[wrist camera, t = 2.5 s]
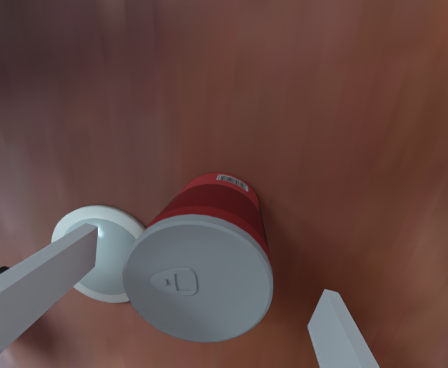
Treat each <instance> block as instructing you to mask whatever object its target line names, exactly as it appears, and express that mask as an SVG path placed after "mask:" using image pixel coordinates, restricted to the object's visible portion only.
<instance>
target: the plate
mask: <svg viewBox="0 0 448 368" xmlns="http://www.w3.org/2000/svg"><path fill="white" fill-rule="evenodd" d="M85 223H88V224H91V225H95V226H98V238H97V250H96V262H95V267H94V268H93V269H92V270H91V271H90V272H88V273H87V274H86V275H85V276H84V277H83V278H82V279H81V280H80V281H79V282H78V283H77V284H75V285H74V286H73V287H74V288H75V289H77V290H78V291H80V292H81V293H83V294H85V295H87V296H89V297H91V298H93V299H96V300H99V301H104V302H110V303H120V302H127V301H129V299H128V297H127V295H126V292H125V289H124V286H123V276H122V272H123V265H124V261H125V258H126V256H127V253H128V251H129V250H130V248H131V247H132V245H133V244H134V242H135V241H136V240H137V238H138V237H139V235H140V234H141V233H142V232H143V231H144V230H145V229H146V228H145V227H144V225H143V224H142V223H140V222H139V221H138V220H137V219H136V218H134V217H133V216H132V215H130V214H128V213H127V212H125V211H123V210H120V209H118V208H115V207H111V206H107V205H89V206H84V207H81V208H79V209H77V210H75V211H73V212H71V213H69V214H67V215H66V216H65V217H63V218H62V219H61V220H60V221H59V223H58V224H57V226H56V227H55V230H54V232H53V236H52V243H53V242H55V241H56V240H58V239H60V238H61V237H63V236H65V235H66V234H68V233H70V232H71V231H73V230H75V229H76V228H78V227H80V226H82V225H83V224H85Z"/></svg>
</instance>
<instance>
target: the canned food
mask: <svg viewBox="0 0 448 368" xmlns="http://www.w3.org/2000/svg"><path fill="white" fill-rule="evenodd" d="M122 276H123V286H124V289H125V292H126V295H127V297H128V299H129V301H130V302H131V304H132V306H133V308H134V309H135V310H136V311H137V312H138V313H139V315H140V316H141V317H142V318H143V319H144V320H146V321H147V322H148V323H149V324H150V325H152V326H153V327H155V328H157V329H158V330H160V331H162V332H163V333H166V334H168V335H170V336H173V337H175V338H179V339H183V340H186V341H192V342H201V343H207V342H220V341H225V340H229V339H232V338H235V337H238V336H241V335H242V334H244V333H246V332H247V331H249V330H251V329H252V328H253V327H254V326H256V325H257V324H258V323H259V322H260V321H261V320H262V318H263V317H264V315H265V314H266V313H267V311H268V309H269V306H270V304H271V301H272V295H273V275H272V267H271V262H270V254H269V249H268V244H267V239H266V234H265V229H264V224H263V219H262V214H261V210H260V205H259V201H258V198H257V195H256V194H255V192H254V191H253V189H252V188H251V187H250V186H249V185H248V184H247V183H246V182H245V181H243V180H242V179H240V178H238V177H236V176H234V175H231V174H227V173H216V172H215V173H208V174H204V175H201V176H199V177H197V178H195V179H194V180H192V181H191V182H190V183H189V184H188V185H187V186H186V187H185V188H184V189H183V190H182V191H181V192H180V193H179V194H178V195H177V196H176V197H175V198H174V199H173V200H172V201H171V202H170V203H169V204H168V205H167V206H166V207H165V208H164V210H163V211H162V212H161V213H160V214H159V215H158V216H157V217H156V218H155V219H154V220H153V221H152V222H151V223H150V224H149V225H148V226H147V228H146V229H145V230H144V231H143V232H142V233H141V234H140V235H139V237H138V238H137V240H136V241H135V242H134V244H133V245H132V247H131V248H130V250H129V251H128V253H127V256H126V258H125V261H124V265H123V272H122Z"/></svg>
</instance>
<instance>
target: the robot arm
mask: <svg viewBox="0 0 448 368" xmlns="http://www.w3.org/2000/svg"><path fill="white" fill-rule="evenodd" d="M97 238H98V226H95V225H91V224H88V223H85V224H83V225H82V226H80V227H78V228H76V229H75V230H73V231H71V232H70V233H68V234H66V235H65V236H63V237H61V238H60V239H58V240H56V241H55V242H53V243H51V244H50V245H48V246H46V247H45V248H43V249H41V250H40V251H38V252H36V253H35V254H33V255H31V256H30V257H28V258H26V259H25V260H23V261H21V262H20V263H18V264H16V265H15V266H13V267H11V268H9V267H6V266H4V267H1V268H0V354H1V353H2V352H3V351H4V350H5V349H6V348H7V347H8V346H9V345H10V344H11V343H12V342H14V341H15V340H16V339H17V338H18V337H19V336H20V335H21V334H22V333H23V332H24V331H26V330H27V329H28V328H29V327H30V326H31V325H32V324H33V323H34V322H35V321H36V320H37V319H39V318H40V317H41V316H42V315H43V314H44V313H45V312H46V311H47V310H48V309H49V308H50V307H52V306H53V305H54V304H55V303H56V302H57V301H58V300H59V299H60V298H61V297H62V296H63V295H65V294H66V293H67V292H68V291H69V290H70V289H71V288H72V287H73V286H74V285H75V284H77V283H78V282H79V281H80V280H81V279H82V278H83V277H84V276H85V275H86V274H87V273H88V272H90V271H91V270H92V269H93V268H94V267H95V262H96V250H97ZM307 327H308V330H309V333H310V337H311V340H312V343H313V347H314V350H315V353H316V357H317V360H318V363H319V367H320V368H380V367H379V366H378V364H377V362H376V360H375V358H374V357H373V355H372V353H371V351H370V349H369V347H368V346H367V344H366V342H365V340H364V338H363V337H362V335H361V333H360V331H359V329H358V327H357V326H356V324H355V322H354V320H353V318H352V317H351V315H350V313H349V311H348V309H347V307H346V306H345V304H344V302H343V300H342V298H341V297H340V295H339V293H338V292H334V291H330V290H327V289H324V291H323V293H322V296H321V298H320V300H319V302H318V304H317V307H316V309H315V311H314V313H313V315H312V317H311V320H310V322H309V324H308V326H307Z"/></svg>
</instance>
